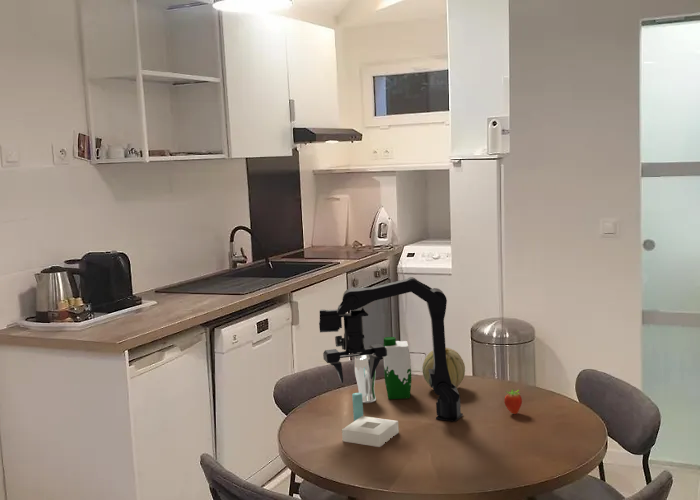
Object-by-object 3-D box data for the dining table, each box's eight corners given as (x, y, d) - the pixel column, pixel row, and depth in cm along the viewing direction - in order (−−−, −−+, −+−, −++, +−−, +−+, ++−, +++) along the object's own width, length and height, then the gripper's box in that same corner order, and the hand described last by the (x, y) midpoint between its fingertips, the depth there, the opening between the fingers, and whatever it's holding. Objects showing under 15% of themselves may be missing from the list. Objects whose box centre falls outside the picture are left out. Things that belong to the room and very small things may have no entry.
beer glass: (375, 403, 244) (373, 359, 242) (354, 403, 246) (352, 359, 244) (378, 397, 251) (376, 353, 249) (358, 396, 252) (356, 353, 251)
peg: (365, 421, 228) (363, 393, 227) (360, 425, 225) (359, 396, 224) (356, 420, 229) (355, 392, 228) (352, 423, 226) (350, 395, 225)
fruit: (517, 417, 224) (517, 391, 223) (502, 415, 227) (501, 389, 226) (525, 412, 228) (524, 387, 227) (509, 409, 231) (508, 384, 230)
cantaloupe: (443, 380, 265) (441, 339, 263) (475, 389, 254) (473, 346, 252) (413, 390, 256) (411, 348, 254) (445, 399, 244) (443, 355, 243)
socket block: (398, 432, 217) (398, 420, 217) (379, 447, 207) (379, 434, 206) (362, 427, 223) (362, 416, 223) (342, 441, 213) (341, 429, 212)
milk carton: (385, 392, 256) (382, 335, 253) (411, 391, 255) (408, 334, 253) (385, 400, 247) (382, 341, 245) (413, 399, 247) (410, 340, 244)
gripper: (375, 322, 234) (378, 370, 236) (318, 328, 230) (321, 377, 232) (386, 329, 224) (388, 379, 225) (326, 336, 219) (329, 387, 221)
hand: (356, 380), depth 226 cm, fingers open, 9 cm apart
